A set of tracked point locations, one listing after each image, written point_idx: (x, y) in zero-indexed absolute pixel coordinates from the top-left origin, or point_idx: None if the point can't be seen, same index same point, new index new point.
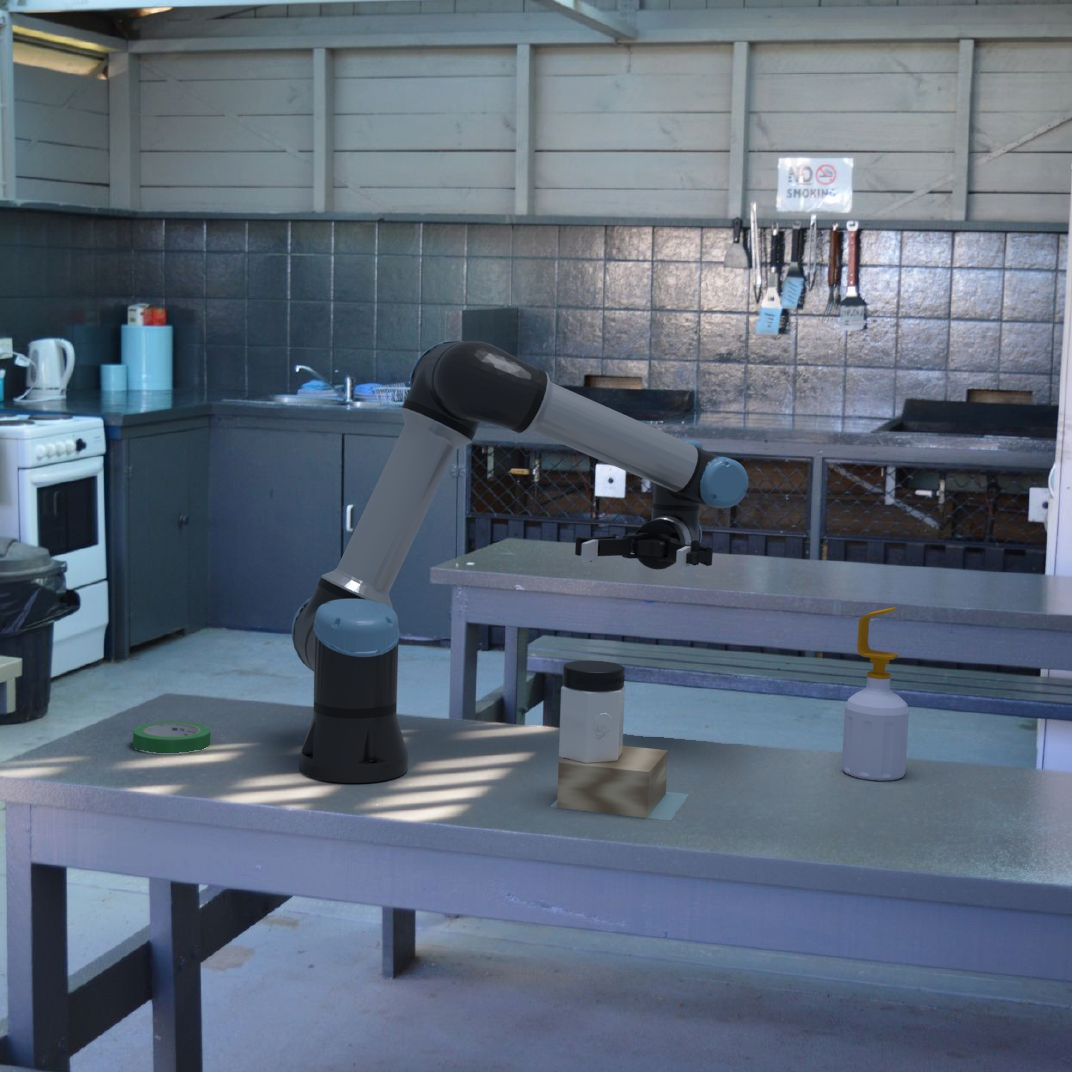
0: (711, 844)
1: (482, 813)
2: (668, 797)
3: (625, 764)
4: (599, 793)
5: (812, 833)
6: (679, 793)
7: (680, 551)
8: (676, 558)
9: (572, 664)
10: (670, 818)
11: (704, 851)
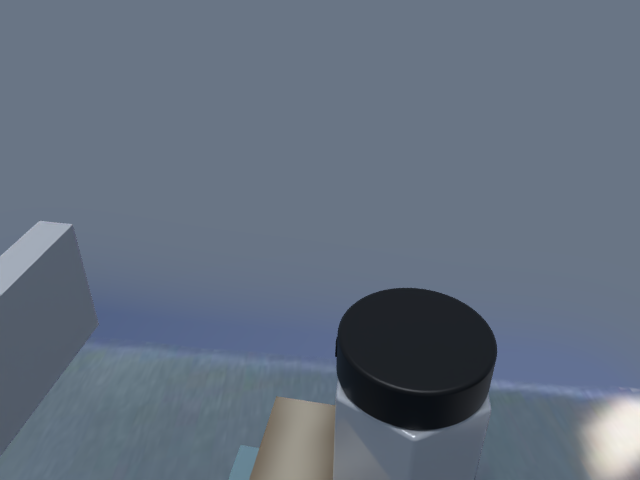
0: (192, 378)
1: (549, 447)
2: None
3: (320, 432)
4: None
5: (11, 444)
6: None
7: (50, 226)
8: (83, 267)
9: (474, 339)
10: (239, 456)
11: (207, 355)
